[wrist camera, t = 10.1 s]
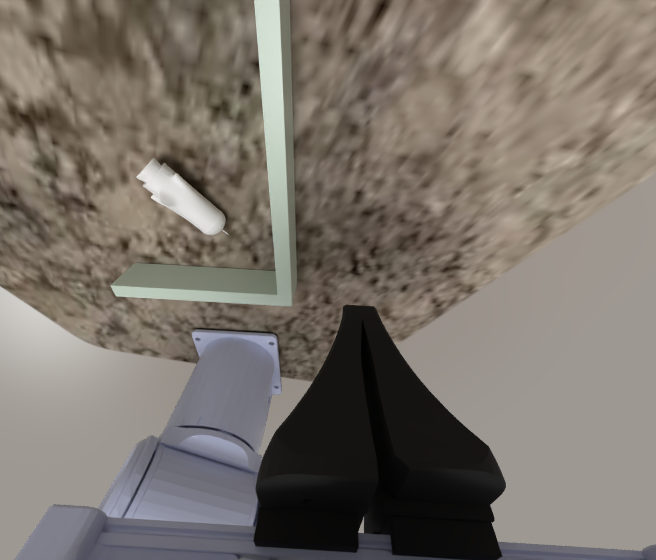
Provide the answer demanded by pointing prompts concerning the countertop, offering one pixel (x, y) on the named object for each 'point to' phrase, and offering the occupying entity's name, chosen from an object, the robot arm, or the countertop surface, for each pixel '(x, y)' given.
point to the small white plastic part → (181, 197)
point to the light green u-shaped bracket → (280, 163)
